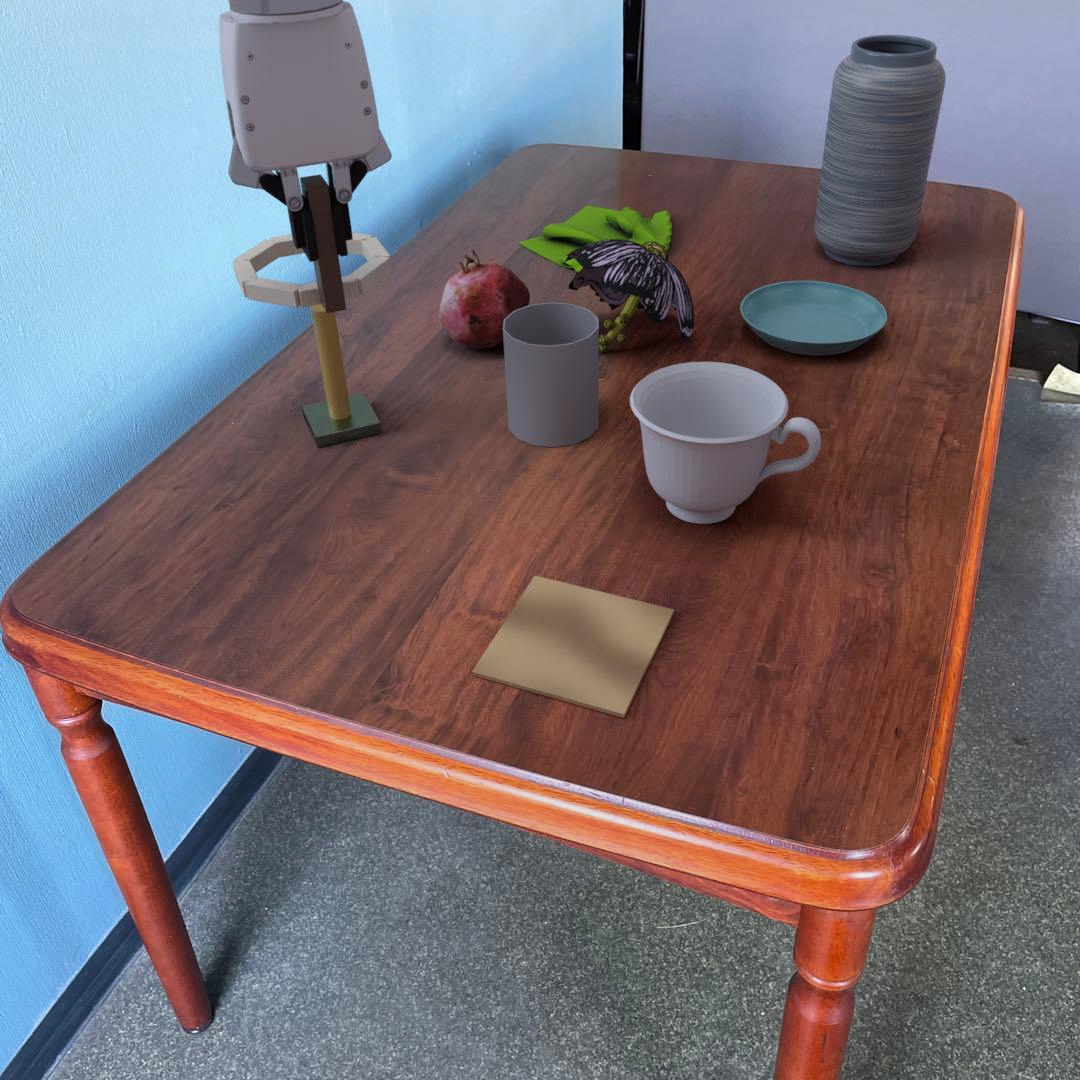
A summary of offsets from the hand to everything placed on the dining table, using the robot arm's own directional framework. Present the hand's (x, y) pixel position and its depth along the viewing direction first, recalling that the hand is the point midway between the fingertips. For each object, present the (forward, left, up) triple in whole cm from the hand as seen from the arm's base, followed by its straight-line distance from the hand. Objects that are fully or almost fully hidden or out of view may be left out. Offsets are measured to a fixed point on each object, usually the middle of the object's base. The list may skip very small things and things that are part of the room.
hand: (324, 251), depth 83 cm
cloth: (+41, +36, -20) cm, 58 cm away
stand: (0, +7, -20) cm, 21 cm away
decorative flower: (+32, +11, -20) cm, 39 cm away
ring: (0, +7, -5) cm, 8 cm away
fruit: (+18, +17, -20) cm, 32 cm away
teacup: (+25, -19, -20) cm, 37 cm away
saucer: (+49, +4, -20) cm, 53 cm away
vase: (+66, +19, -20) cm, 72 cm away
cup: (+18, -1, -20) cm, 27 cm away
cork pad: (+8, -29, -20) cm, 36 cm away
